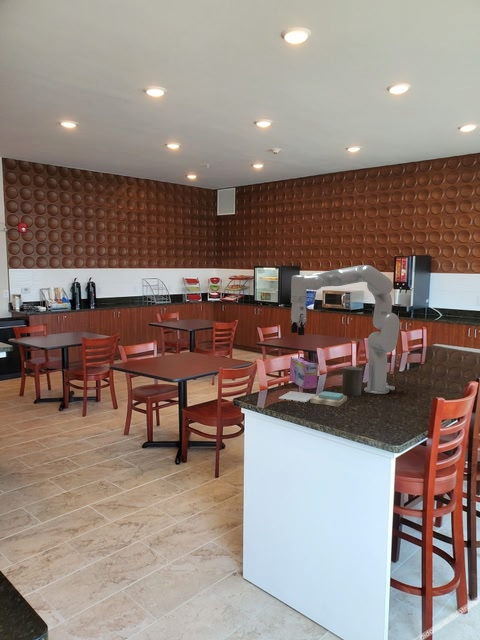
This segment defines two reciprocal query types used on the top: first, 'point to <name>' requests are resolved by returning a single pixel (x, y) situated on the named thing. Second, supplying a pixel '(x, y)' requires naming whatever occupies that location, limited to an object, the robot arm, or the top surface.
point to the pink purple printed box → (303, 372)
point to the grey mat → (297, 396)
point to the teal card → (331, 395)
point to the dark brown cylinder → (351, 381)
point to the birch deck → (327, 400)
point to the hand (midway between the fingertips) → (297, 333)
